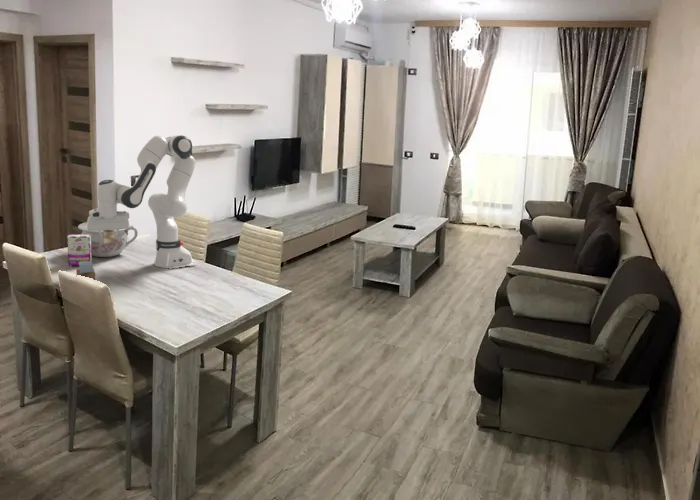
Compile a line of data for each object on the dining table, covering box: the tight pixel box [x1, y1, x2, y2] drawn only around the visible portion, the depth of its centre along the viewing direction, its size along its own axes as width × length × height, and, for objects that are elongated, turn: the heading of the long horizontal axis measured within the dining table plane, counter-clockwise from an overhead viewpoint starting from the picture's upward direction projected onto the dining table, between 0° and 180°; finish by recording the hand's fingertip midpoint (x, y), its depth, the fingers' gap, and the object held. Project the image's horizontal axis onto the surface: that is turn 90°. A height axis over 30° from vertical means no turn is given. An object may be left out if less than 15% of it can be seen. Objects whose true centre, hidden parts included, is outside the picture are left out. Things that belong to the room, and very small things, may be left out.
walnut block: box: [75, 267, 96, 280], centre depth 308 cm, size 8×8×4 cm
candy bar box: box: [66, 234, 93, 267], centre depth 325 cm, size 11×5×16 cm, turn 105°
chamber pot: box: [77, 221, 138, 258], centre depth 346 cm, size 28×28×21 cm
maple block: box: [103, 230, 115, 243], centre depth 315 cm, size 5×5×6 cm
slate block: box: [78, 260, 94, 273], centre depth 307 cm, size 6×6×4 cm
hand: (108, 237), depth 316 cm, fingers closed on maple block, 5 cm apart
